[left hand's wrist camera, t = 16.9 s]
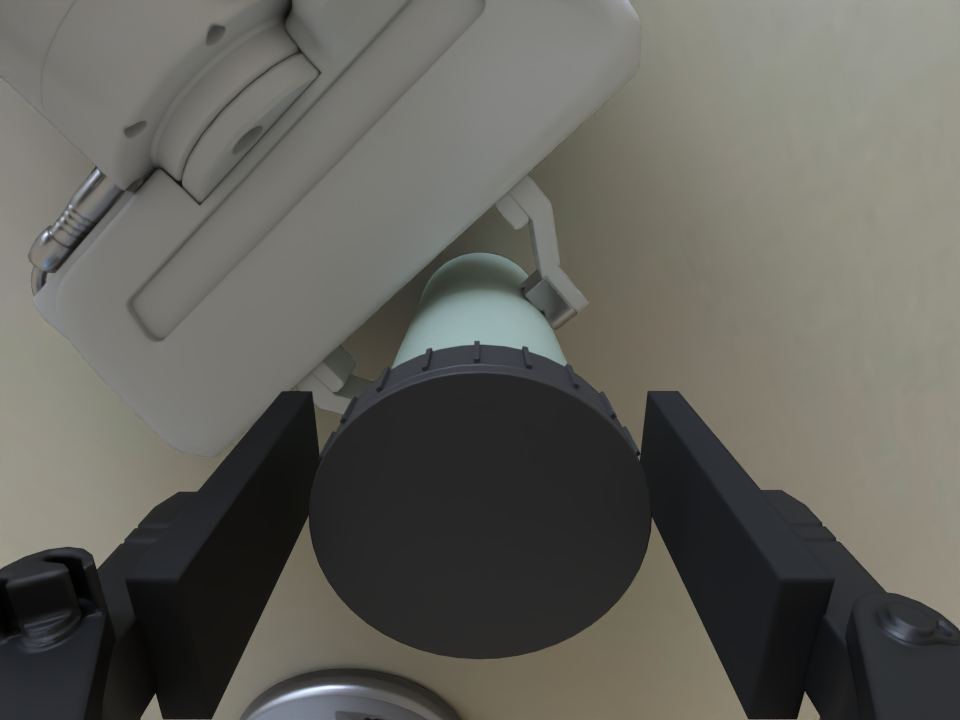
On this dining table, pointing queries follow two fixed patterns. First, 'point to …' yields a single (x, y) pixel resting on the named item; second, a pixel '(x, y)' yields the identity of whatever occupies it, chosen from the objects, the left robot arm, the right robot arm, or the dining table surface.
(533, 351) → the jar
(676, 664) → the dining table surface
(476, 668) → the dining table surface
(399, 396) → the lid
